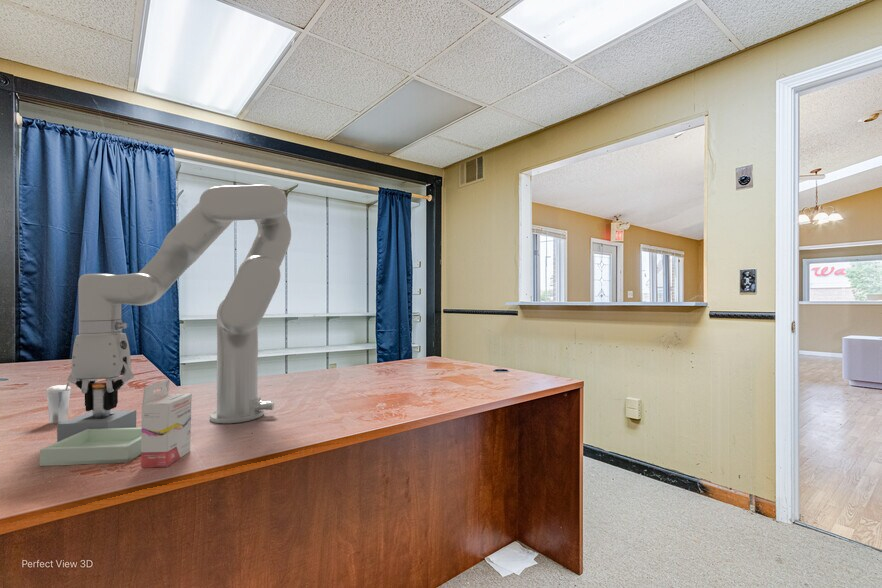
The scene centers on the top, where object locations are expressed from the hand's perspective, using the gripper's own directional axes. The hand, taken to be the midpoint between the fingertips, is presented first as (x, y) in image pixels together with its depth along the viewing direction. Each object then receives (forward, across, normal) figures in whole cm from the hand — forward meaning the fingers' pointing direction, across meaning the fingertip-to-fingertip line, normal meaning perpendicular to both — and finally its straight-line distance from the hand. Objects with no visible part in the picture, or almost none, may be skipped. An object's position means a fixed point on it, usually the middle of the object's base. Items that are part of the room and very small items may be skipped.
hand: (101, 408), depth 95 cm
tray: (+6, -9, +12) cm, 16 cm away
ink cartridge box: (+6, -22, +17) cm, 29 cm away
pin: (+5, 0, 0) cm, 5 cm away
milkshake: (+6, +16, -11) cm, 20 cm away
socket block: (+6, 0, 0) cm, 6 cm away
